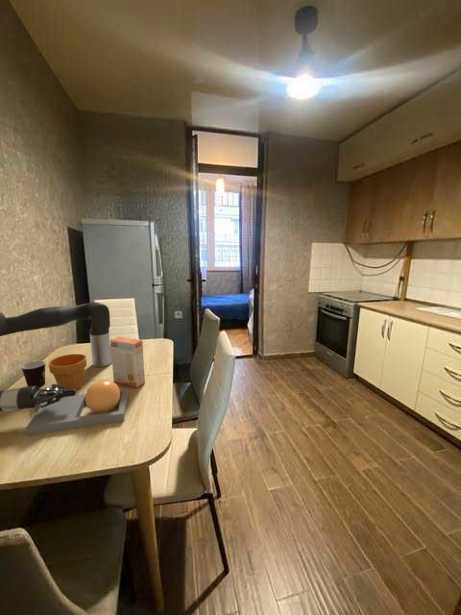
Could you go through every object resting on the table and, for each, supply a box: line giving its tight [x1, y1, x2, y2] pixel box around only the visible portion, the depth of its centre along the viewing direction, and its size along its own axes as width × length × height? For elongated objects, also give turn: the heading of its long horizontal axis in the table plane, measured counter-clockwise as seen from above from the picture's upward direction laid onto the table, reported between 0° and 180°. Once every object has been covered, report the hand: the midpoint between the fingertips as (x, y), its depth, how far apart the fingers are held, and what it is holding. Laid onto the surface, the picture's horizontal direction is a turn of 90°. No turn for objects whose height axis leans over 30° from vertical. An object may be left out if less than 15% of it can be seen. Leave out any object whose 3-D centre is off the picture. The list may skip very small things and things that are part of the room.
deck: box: [25, 388, 129, 436], centre depth 102 cm, size 30×18×3 cm, turn 106°
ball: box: [85, 379, 121, 414], centre depth 103 cm, size 12×12×12 cm
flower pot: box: [48, 353, 88, 391], centre depth 120 cm, size 14×14×13 cm
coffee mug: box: [21, 360, 46, 389], centre depth 123 cm, size 12×9×10 cm
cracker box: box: [110, 336, 146, 389], centre depth 123 cm, size 14×6×21 cm, turn 65°
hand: (75, 391), depth 100 cm, fingers closed
